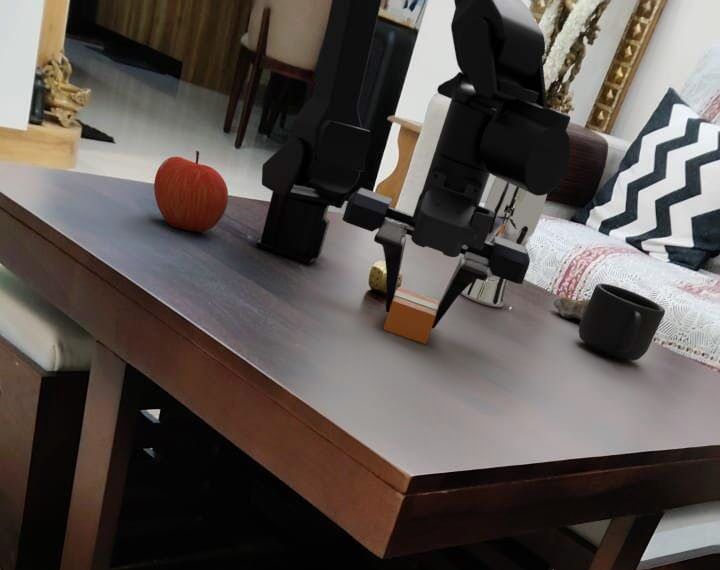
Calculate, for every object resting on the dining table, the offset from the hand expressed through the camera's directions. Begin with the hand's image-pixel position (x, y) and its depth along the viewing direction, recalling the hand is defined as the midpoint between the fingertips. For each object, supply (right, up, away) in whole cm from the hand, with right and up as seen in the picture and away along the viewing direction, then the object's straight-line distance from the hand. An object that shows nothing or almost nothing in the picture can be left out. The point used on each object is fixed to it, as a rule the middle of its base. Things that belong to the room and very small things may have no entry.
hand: (409, 319), depth 103 cm
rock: (+26, +10, +33) cm, 43 cm away
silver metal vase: (+10, +11, +25) cm, 29 cm away
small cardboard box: (0, -1, 0) cm, 1 cm away
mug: (+26, +2, +20) cm, 33 cm away
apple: (-25, +13, +7) cm, 29 cm away
